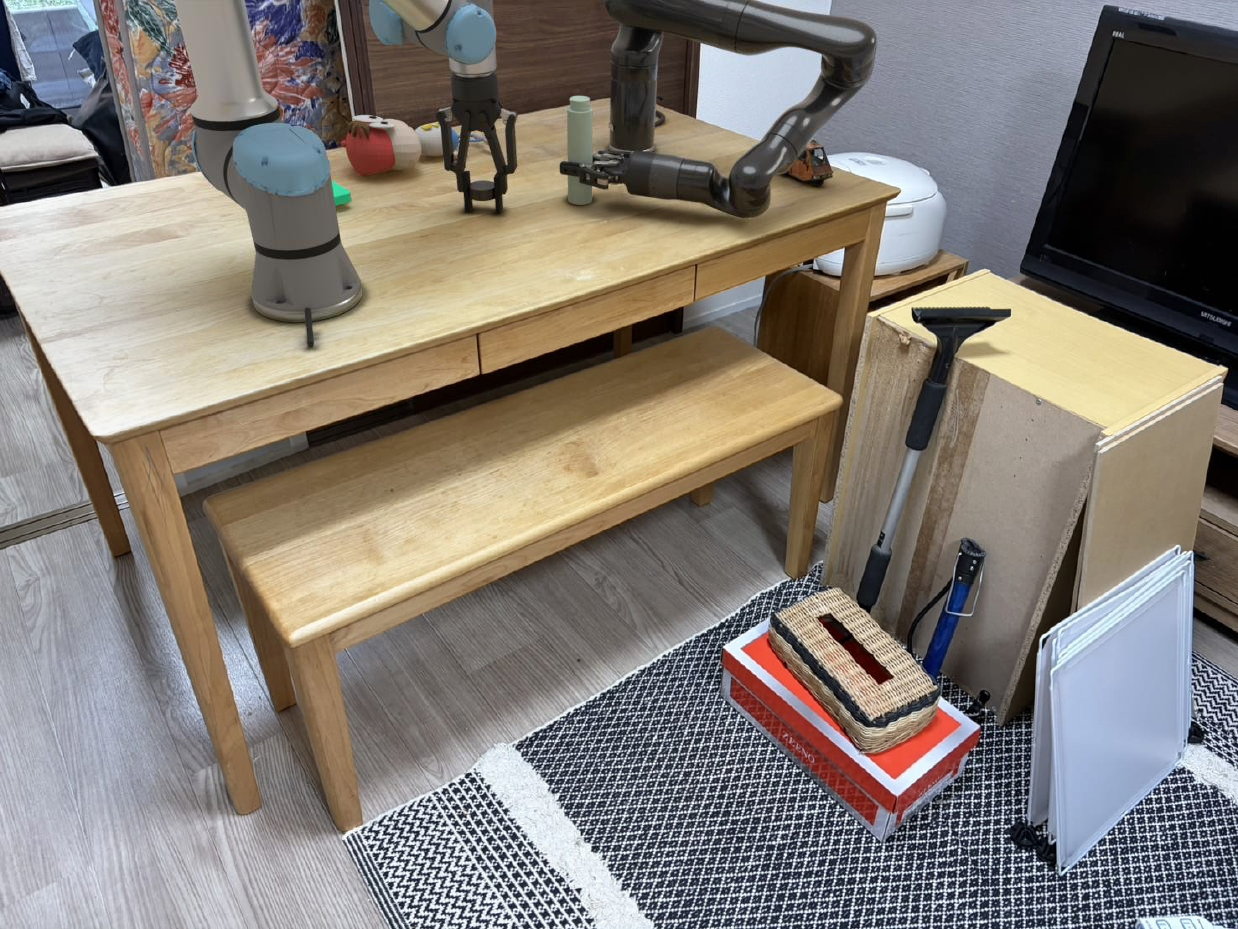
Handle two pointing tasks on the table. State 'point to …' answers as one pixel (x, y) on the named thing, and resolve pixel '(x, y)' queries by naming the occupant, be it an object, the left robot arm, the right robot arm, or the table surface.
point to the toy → (393, 144)
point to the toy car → (811, 165)
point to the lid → (481, 190)
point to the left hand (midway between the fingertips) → (484, 210)
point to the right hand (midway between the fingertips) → (566, 162)
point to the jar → (579, 146)
